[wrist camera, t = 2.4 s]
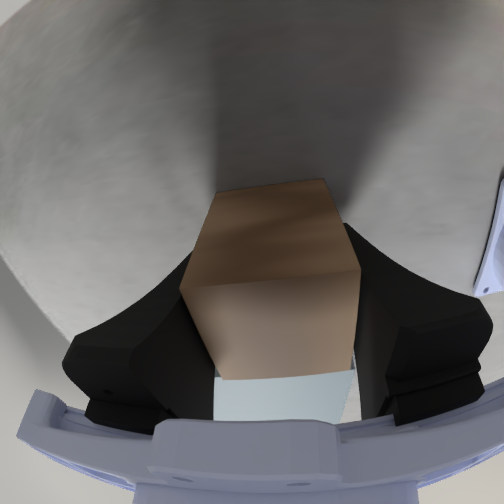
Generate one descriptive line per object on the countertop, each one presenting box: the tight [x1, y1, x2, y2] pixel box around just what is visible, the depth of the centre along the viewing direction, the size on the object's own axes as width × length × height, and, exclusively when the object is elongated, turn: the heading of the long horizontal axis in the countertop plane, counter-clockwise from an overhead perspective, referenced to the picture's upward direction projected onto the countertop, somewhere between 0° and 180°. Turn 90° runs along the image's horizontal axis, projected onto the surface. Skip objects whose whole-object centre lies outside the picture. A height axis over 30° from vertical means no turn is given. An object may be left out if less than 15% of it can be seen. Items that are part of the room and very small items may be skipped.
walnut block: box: [179, 179, 361, 380], centre depth 11 cm, size 4×4×6 cm
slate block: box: [214, 357, 355, 425], centre depth 18 cm, size 10×10×4 cm
